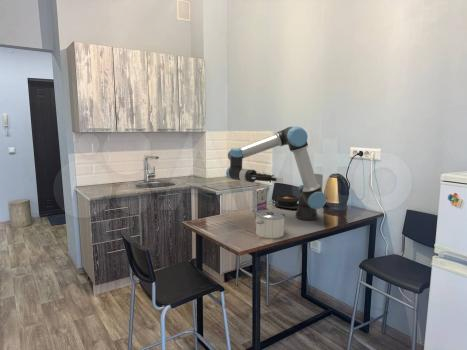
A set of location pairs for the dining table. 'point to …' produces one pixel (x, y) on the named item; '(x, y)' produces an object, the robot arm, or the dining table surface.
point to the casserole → (287, 201)
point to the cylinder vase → (319, 179)
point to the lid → (270, 214)
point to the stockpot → (269, 227)
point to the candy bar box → (259, 199)
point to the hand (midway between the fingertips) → (282, 180)
